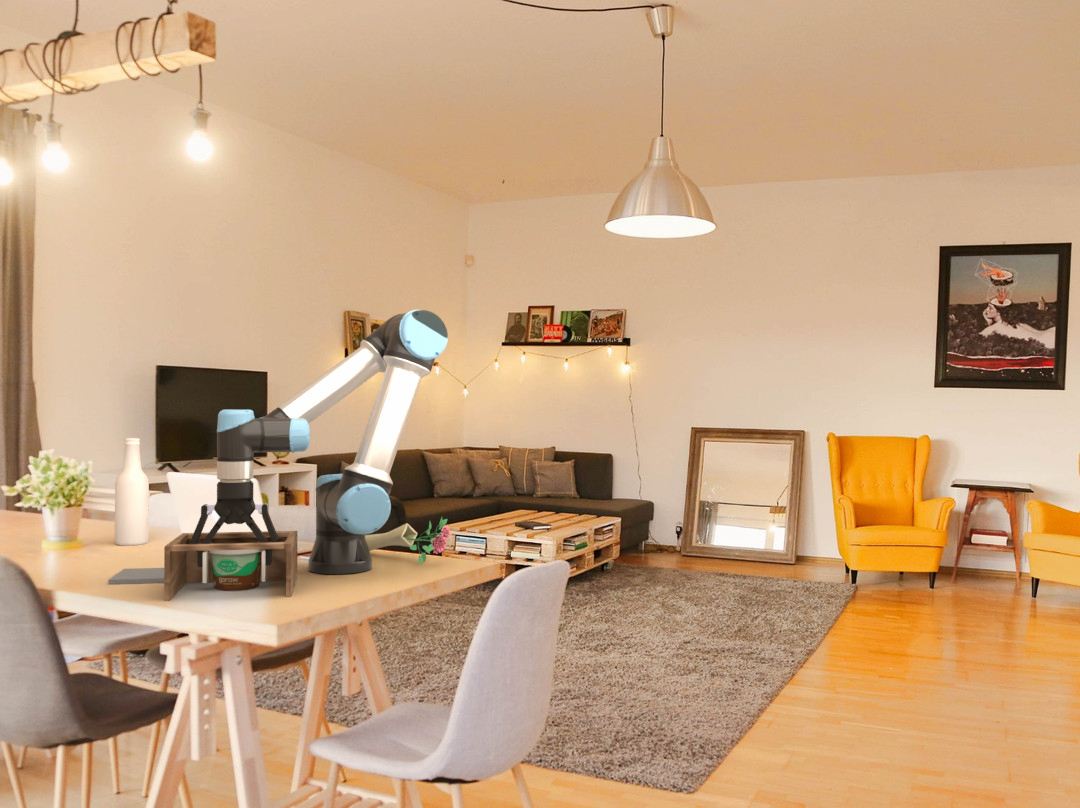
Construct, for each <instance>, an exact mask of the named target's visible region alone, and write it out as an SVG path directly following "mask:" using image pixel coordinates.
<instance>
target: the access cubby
mask: <svg viewBox="0 0 1080 808" xmlns="http://www.w3.org/2000/svg"><path fill="white" fill-rule="evenodd" d="M275 531H276V533H277V535H278V538H279V540H280V542H272V540H271V537H270V535H269V532H268V530H266V531H262V533H263V534H264V535H265V537H266V538H267V539H268V541H269V542H270V543H257V542H260V541H259V540H258V539H257V537H256V536H255V535H254V533H253V532H252V531H230V532H229V531H228V532H227V531H224V532H223V531H222V532H220V531H217V533H216V534H215V536H214V537H213V538H212V540H211V543H214V544H210V542H209V544H201V543H202V542H203V540H204V539H205V537H206V536H207V535H208V533H209V532H202V533H201V535H200V537H199V540H198V542H197V544H190V541H191V539H192V536H193V534H194V532H183V533H180V535H178V536H176V537H175V538H173V540H172V541H169V543H167V544H166V545H164V548H163V549H164V553H163V554H164V555H163V557H164V559H163V560H164V563H163V565H164V566H163V568H164V587H163V593H164V595H163V596H164V597H163V601H165V602H166V601H167V602H168V601H171V600H172V599H173V597H175V596H176V594H178V592H179V591H180V590H181V589H182V588H183V587H184V586H185V585H186V584H191V583H192V582H193V583H192V584H194V583H196V584H197V583H203V567H198V565H197V552H196V551H209V550H252V549H272V562H271V565H266V581H285V592H286V593H285V597H286V598H287V597H289V598H291V597H292V595H293V592H294V589H295V586H296V584H297V581H298V530H278V531H277V530H275ZM259 582H262V562H261V571H260V580H259ZM207 583H214V581H213V570H212V560H211V553H209V552H208V582H207Z"/></svg>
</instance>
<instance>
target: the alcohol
mask: <svg viewBox="0 0 1080 808" xmlns="http://www.w3.org/2000/svg"><path fill="white" fill-rule="evenodd" d="M140 441H141V439H140V438H138V437H126V438H124V453H123V455H124V456H123V466H122V470H121V472H120V473H119V474H118V475H117V477H116V479H115V482H114V543H115V544H116V545H117V546H121V547H126V546H127V547H130V546H132V547H133V546H143V545H146V544H147V543H148V541H149V540H150V539H149V533H150V532H149V530H150V529H149V525H150V523H149V521H150V519H149V517H150V515H149V511H150V509H149V507H150V504H149V503H150V502H149V501H150V500H149V499H150V495H149V494H150V487H149V486H150V484H149V483H150V482H149V479H148V478H149V477H148V475H147V474H146V473H145V472H144V471H143V469H142V464H141V463H142V460H141V449H140V447H141V446H140V444H141V442H140Z"/></svg>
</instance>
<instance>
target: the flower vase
mask: <svg viewBox="0 0 1080 808" xmlns="http://www.w3.org/2000/svg"><path fill="white" fill-rule="evenodd" d="M447 522H448V518H445V519H443V516H441V518H440V521H438V523H439V524H438V525H437V527H436V529H435V531H434V532H432V533H431V530H432V523H431V521H429V525H428V528H427V530H425V531H424V533H426V535H424V536H422V535H423V533H421V534H420V535H419V537H417V536H418V532H417V531H416V530H415V529H414V528H413V527H412V526H411V525H410V524H409V523H407V522H406V523H404V524H402V525H400V526H398V527H396V528H394V529H392V530H389V531H388V532H385V533H384V532H383V533H375V534H365V539H366V542H367V545H368V548H369V551H370V552H371V551H374V550H378V549H380V548H384V547H389V546H401V547H409V549H410V550H412V551H417V549H420V546H422V549H423V551H425V552H422V551H420V552H418V553H419V555H418V558H417V559H418V560H417V563H418V566H419V565H421V564H422V563H423V562H426V560H427V554H429V555H431V553H430V552H432V551H433V554H437V555H438V554H441V553H442V552H443V551H445V550H446V547H447V539H448V538H449V537H450V535H451V530H450V528H449V526H448V525H447V526H445V525H446V524H447ZM438 527H439V528H438ZM439 530H440V532H437V531H439ZM428 537H429V538H430V539H427V538H428ZM422 538H423V539H422ZM415 541H416V543H417V544H414V542H415ZM419 541H420V542H422V541H425V542H430V544H429V545H422V544H420V546H419ZM420 553H421V554H420ZM426 553H427V554H426Z"/></svg>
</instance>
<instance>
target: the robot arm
mask: <svg viewBox="0 0 1080 808" xmlns="http://www.w3.org/2000/svg"><path fill="white" fill-rule="evenodd" d="M448 338H449V334H448V328H447V326H446V324H445V322H444V321H443V320H442V318H441V317H439V315H438V314H436V313H435V312H432V311H430V310H426V309H412V310H410V311H408V312H404V313H398V314H396V315H393V316H392V317H390V318H389V319H387V320H386V321H384V322H383V323H382V324H381V325H380V326H378V328H376V329H375V330H373V332H371V333H370V334H368V336H366V337H365V338H364V339H362V340H361V341H360V343H359V344H360V345H359V347H358V348H357V349H355V350H354V351H353V352H352V353H350V354H349V355H347V356H346V357H344V358H343V359H342V360H340V361H339V362H338V363H336V364H335V365H333V366H332V367H331V368H329V369H328V370H326V372H323V373H322V374H321V375H320V376H319V377H317V378H316V379H314V380H313V381H312V382H310V383H309V384H307V385H306V386H305V387H302V389H300V390H299V391H298V392H296V393H295V394H294V395H292V396H291V397H289V398H288V399H287V400H285V401H284V402H283V403H281V404H280V405H278V406H277V407H276V408H275V409H273V410H271V412H269V413H267V415H265V416H262V417H258V418H257V417H255V414H254V410H252V409H221V410H220V411H219V413H218V415H217V426H216V427H217V429H216V444H217V445H216V450H217V451H216V453H217V456H216V457H217V459H216V478H217V480H219V481H218V482H217V483H216V503H215V504H207V503H205V504H203V505H202V506H201V508H200V517H199V519H198V521H197V524H196V527H195V528H194V529H195V530H194V532H193V533H194V534H193V536H192V539H191V541H190V544H197V542H198V540H199V537H200V535H201V533H203V531H204V528H205V525H206V523H207V521H208V517H209V516H210V515H212V513H213V511H215V513H216V514H217V515H218V519H217V521H216V522H215V524H214V525H213V527H212V528H211V529H210V531H209V532H207V533H208V535H207V536H206V537H205V539H204V540H203V542H202V543H201V544H209V542H210V541H211V540H212V538H213V537H214V536H215V534H216V533H217V532H219V530H221V527H222V526H223V525H224V524H225V525H226V524H227V525H232V524H237V525H243V524H244V523H245V524H246V526H247V527H248V528H249V529H250V531H251V532H253V533H254V535H255V536H256V537H257V539H258V540H259V541H260V543H270V542H269V541H268V539H267V538H266V537H265V535H264V534H263V533H262V532H263V531H262V530H261V529H260V527H259V526H258V525H257V523H256V522H255V520H254V519H253V517H252V514H253V513H254V512H255V510H256V511H257V512H258V514H259V515H261V516H262V517H261V518H262V520H263V522H264V525H265V527H266V531H268V532H269V535H270V537H271V540H272V542H280V540H279V538H278V535H277V533H276V531H277V530H276V528H275V526H274V523H273V521H272V518H271V516H270V514H269V510H270V509H269V504H268V503H266V502H265V503H261V504H260V503H259V504H256V503H255V501H254V482H253V481H252V479H254V456H255V455H254V453H256V454H258V453H259V454H260V453H292V454H294V453H298V452H300V453H301V452H305V451H306V450H308V449H309V445H310V442H311V428H310V424H311V423H312V422H313V421H314V420H316V419H317V418H318V417H320V416H321V415H323V414H324V413H325V412H326V411H328V410H329V409H331V408H332V407H334V406H335V405H336V404H337V403H339V402H341V401H342V400H343V399H344V398H345V397H347V396H348V395H350V394H351V393H352V392H354V391H355V390H356V389H358V388H359V387H360V386H362V385H363V384H364V383H366V382H367V381H369V380H370V379H371V378H372V377H374V376H375V375H376V374H378V373H383V374H384V375H383V377H382V380H381V384H380V386H379V389H378V391H377V394H376V397H375V400H374V403H373V406H372V408H371V412H370V414H369V417H368V420H367V423H366V427H365V429H364V433H363V434H362V437H361V441H360V444H359V447H358V449H357V452H356V454H355V455H356V456H355V458H354V461H353V463H351V464H350V465H347V466H345V468H344V470H343V473H334V474H333V473H332V474H325V475H320V476H319V477H317V479H316V484H315V485H316V487H315V499H316V500H315V501H316V502H315V510H316V511H315V528H316V529H315V531H316V532H315V539H314V540H315V541H314V543H313V546H312V550H311V553H310V555H309V558H308V562H307V563H308V571H309V572H311V573H315V574H321V575H322V574H323V575H346V574H347V575H348V574H356V573H357V574H359V573H364V572H368V571H370V570H372V568H373V558H372V556H371V551H369V548H368V545H367V542H366V539H365V535H371V534H372V533H374V532H377V531H378V530H380V529H381V528H382V527H383V526H384V525H385V524H386V522H387V521H388V519H389V517H390V515H391V509H392V504H391V499H390V494H391V492H392V488H393V485H394V484H393V483H394V482H393V480H392V478H391V476H390V474H391V470H392V467H393V464H394V462H395V458H396V455H397V452H398V449H399V446H400V444H401V441H402V438H403V435H404V432H405V429H406V426H407V422H408V421H409V418H410V414H411V411H412V408H413V406H414V402H415V399H416V397H417V394H418V391H419V387H420V384H421V382H422V379H423V378H424V377H427V376H428V375H430V374H431V372H432V369H433V366H434V364H435V360H436V358H438V357H440V355H442V354H443V352H444V351H445V349H446V348H447V345H448V341H449V339H448ZM196 552H197V565H198V567H203V582H202V584H207V583H209V582H208V551H196ZM271 562H272V549H265V550H262V581H261V582H266V581H267V580H266V565H271Z"/></svg>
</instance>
